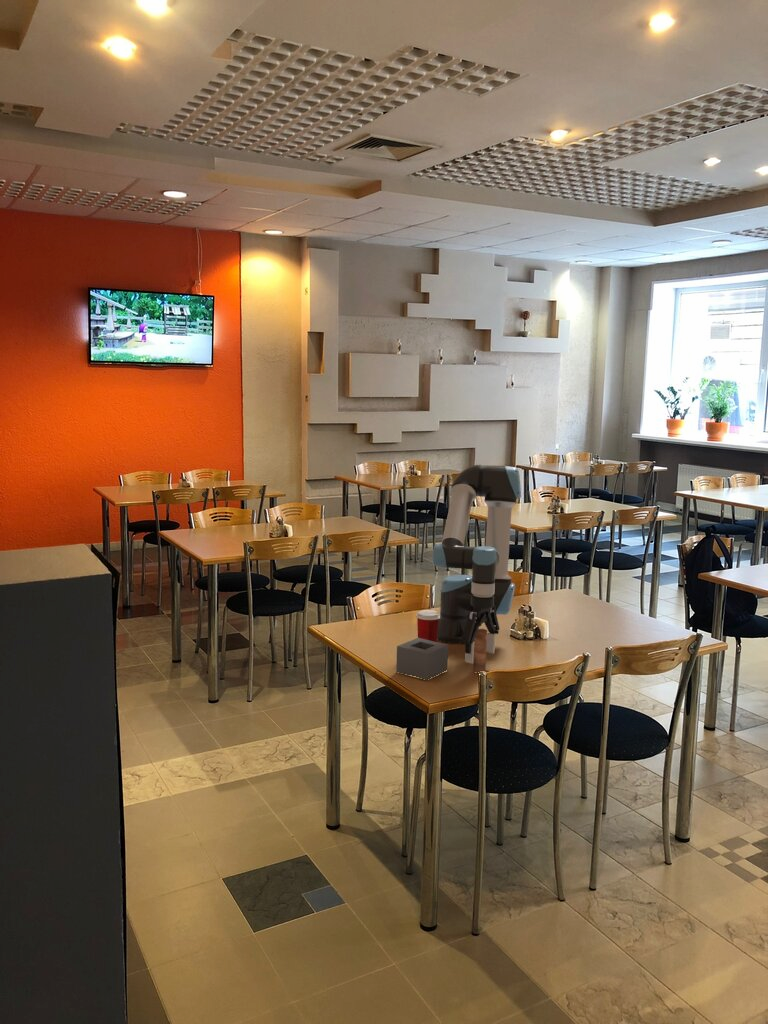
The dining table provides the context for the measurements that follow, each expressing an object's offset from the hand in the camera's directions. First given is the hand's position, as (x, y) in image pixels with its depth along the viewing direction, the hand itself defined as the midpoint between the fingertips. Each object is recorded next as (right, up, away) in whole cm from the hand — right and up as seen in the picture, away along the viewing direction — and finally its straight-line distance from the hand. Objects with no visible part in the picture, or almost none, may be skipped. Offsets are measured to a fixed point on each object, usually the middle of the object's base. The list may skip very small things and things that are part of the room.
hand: (479, 657), depth 281 cm
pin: (0, -5, +1) cm, 5 cm away
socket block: (-19, -5, -1) cm, 20 cm away
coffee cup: (-17, -2, +17) cm, 24 cm away
